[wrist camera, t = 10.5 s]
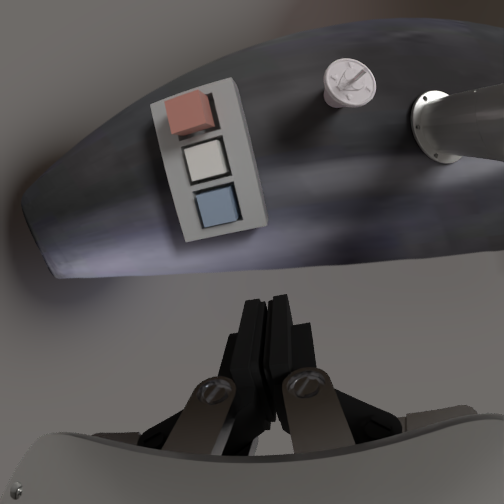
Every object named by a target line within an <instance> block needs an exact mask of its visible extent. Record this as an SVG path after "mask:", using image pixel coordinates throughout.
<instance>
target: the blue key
mask: <svg viewBox="0 0 504 504" xmlns="http://www.w3.org/2000/svg"><path fill="white" fill-rule="evenodd" d="M196 198H197V202H198V206H199V209H200V213H201V217H202V220H203V224H204V227H209V226H214V225H218V224H223V223H228V222H232V221H236V220H237V219H238V217H239V215H240V214H241V212H240V208H239V204H238V200H237V196H236V192H235V188H234V184H232V185H228V186H223V187H219V188H215V189H211V190H207V191H204V192H202V193H200V194H198V195H196Z"/></svg>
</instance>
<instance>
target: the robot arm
mask: <svg viewBox="0 0 504 504" xmlns="http://www.w3.org/2000/svg"><path fill="white" fill-rule="evenodd" d="M423 99H424V100H423ZM411 127H412V132H413V135H414V138H415V140H416V142H417V144H418V145H419V147H420V148H421V150H422V151H423V152H424V153H425V154H426V155H427V156H428V157H429V158H431V159H432V160H434V161H436V162H439V163H445V164H449V163H454V162H456V161H458V160H459V159H461V157H462V156H467V157H476V158H483V159H490V160H497V161H503V162H504V83H503V84H499V85H494V86H489V87H484V88H479V89H475V90H470V91H465V92H461V93H457V94H453V95H448V94H446V93H444V92H441V91H436V90H434V91H428V92H425V93H423V94H421V95H420V96H419V97H418V98H417V99H416V100H415V102H414V104H413V107H412V110H411ZM416 127H417V128H416ZM276 412H277V415H278V418H279V421H280V422H281V425H282V428H283V430H284V431H286V432H287V433H289V434H290V435H291V439H292V444H293V449H294V454H286V455H285V454H284V455H268V456H254V454H255V451H256V448H257V445H258V436H259V435H260V434H261V433H262V432H264V430H270V424H271V422H275V420H276ZM0 504H504V415H502V414H492V413H491V414H489V413H487V414H477V412H476V411H475V410H474V409H473V408H472V407H470V406H467V405H458V406H454V407H448V408H443V409H437V410H431V411H424V412H417V413H409V414H406V417H398V418H397V417H396V416H394V415H392V414H391V413H388V412H386V411H383V410H381V409H378V408H376V407H374V406H372V405H369V404H367V403H365V402H363V401H360V400H358V399H356V398H354V397H351V396H349V395H347V394H345V393H343V392H340V391H339V390H336V389H334V387H333V384H332V382H331V380H330V377H329V376H328V374H327V373H326V372H325V371H323V370H321V369H318V368H316V361H315V354H314V345H313V338H312V331H311V325H310V323H305V324H299V325H293V322H292V317H291V312H290V306H289V301H288V297H287V294H285V295H279V296H274V297H273V300H270V301H269V302H268V311H267V306H266V303H265V301H264V302H261V301H260V299H254V300H247V301H245V305H244V309H243V313H242V318H241V322H240V327H239V331H238V333H233V334H230V335H229V337H228V341H227V344H226V348H225V351H224V355H223V359H222V362H221V366H220V370H219V374H218V376H217V377H212V378H208V379H206V380H204V381H202V382H201V383H200V384H198V385H197V387H196V388H195V389H194V391H193V393H192V395H191V397H190V398H189V400H188V402H187V404H186V406H185V407H184V409H183V410H182V411H180V412H178V413H177V414H175V415H173V416H171V417H170V418H168V419H166V420H164V421H163V422H161V423H159V424H157V425H155V426H154V427H152V428H150V429H148V430H147V431H145V432H144V433H143V434H142V435H141V434H140V433H139V432H129V433H128V432H127V433H96V434H94V435H86V434H79V433H70V432H59V433H50V434H46V435H43V436H41V437H39V438H38V439H37V440H36V441H35V442H34V443H33V444H32V446H31V447H30V448H29V450H28V451H27V452H26V454H25V455H24V457H23V458H22V460H21V461H20V463H19V465H18V466H17V468H16V470H15V472H14V473H13V475H12V477H11V479H10V481H9V482H8V484H7V486H6V488H5V490H4V492H3V494H2V497H1V499H0Z"/></svg>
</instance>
